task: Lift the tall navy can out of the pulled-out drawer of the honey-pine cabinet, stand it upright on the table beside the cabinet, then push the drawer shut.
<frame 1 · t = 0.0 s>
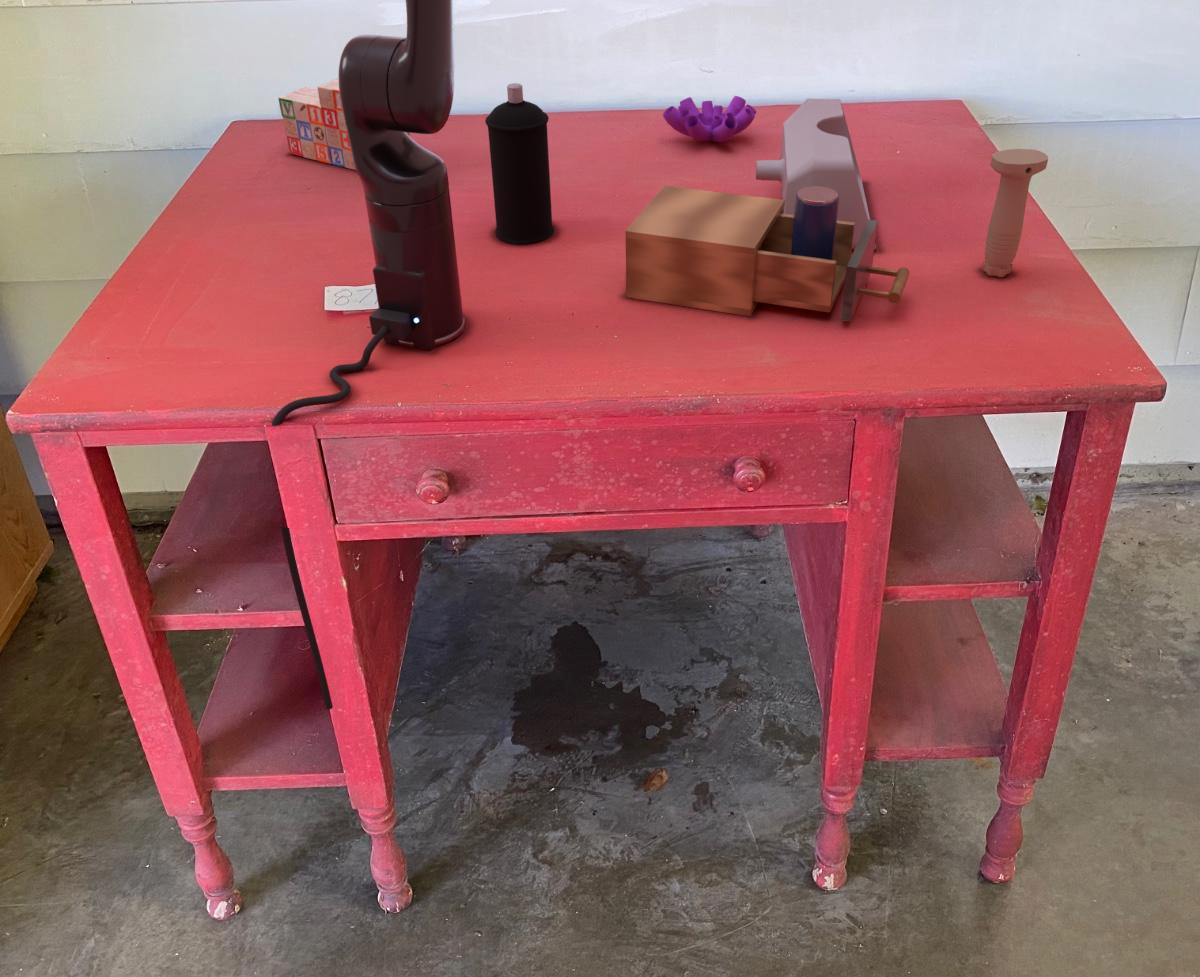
cabinet: (704, 280, 141), on the table
handle: (995, 274, 141), on the table
stack of blocks: (351, 161, 179), on the table
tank: (810, 215, 157), on the table
pipe connector assembly: (708, 142, 182), on the table
can: (809, 280, 136), point 2 cm above the table, touching drawer
drawer: (824, 264, 134), point 4 cm above the table, slide at 10.5 cm, touching can
aerosol can: (524, 233, 155), on the table
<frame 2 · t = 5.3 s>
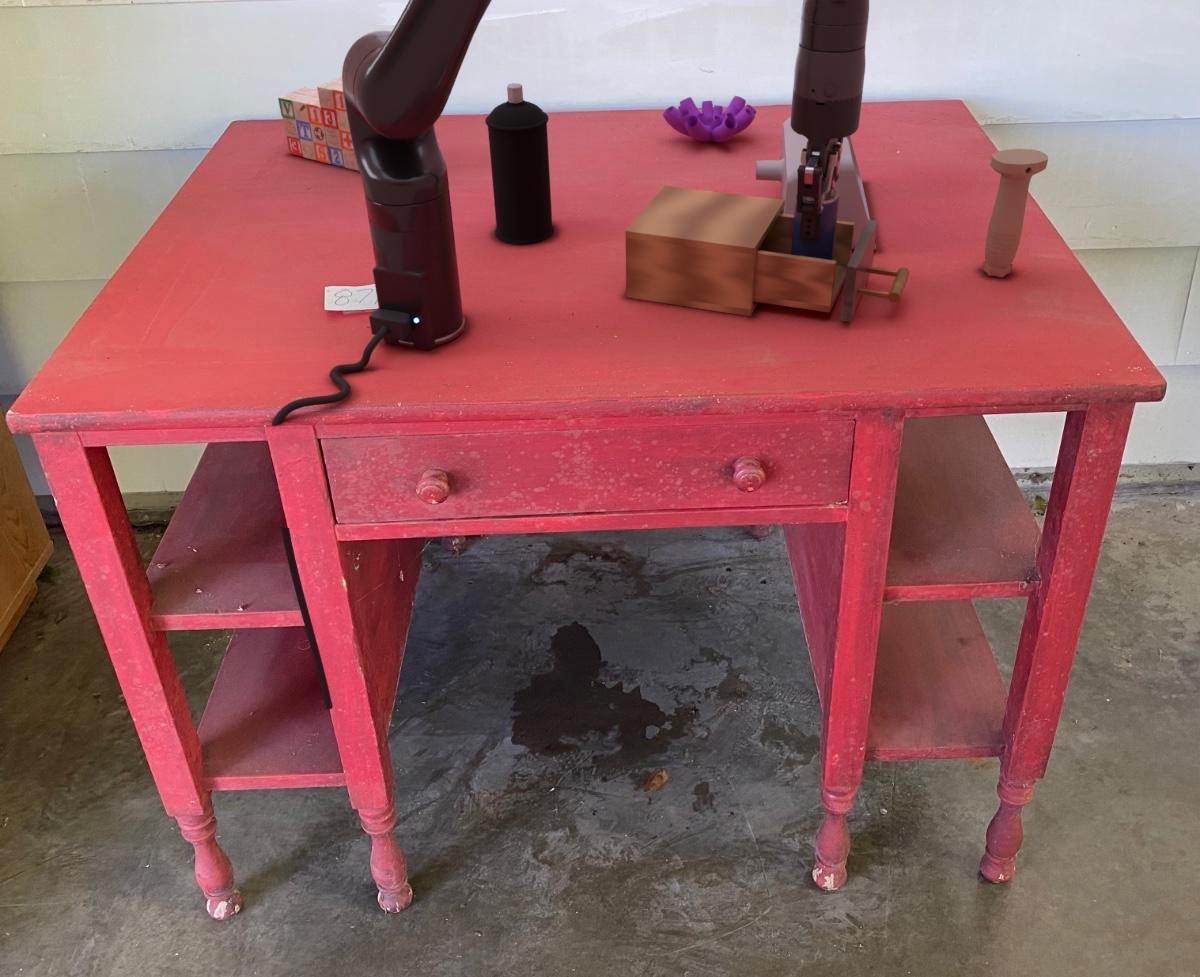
hand: (814, 231, 132), 8 cm above the table, tool pointing down, fingers closed on can, 5 cm apart
can: (809, 280, 136), point 2 cm above the table, touching drawer, gripper
everything else where it was.
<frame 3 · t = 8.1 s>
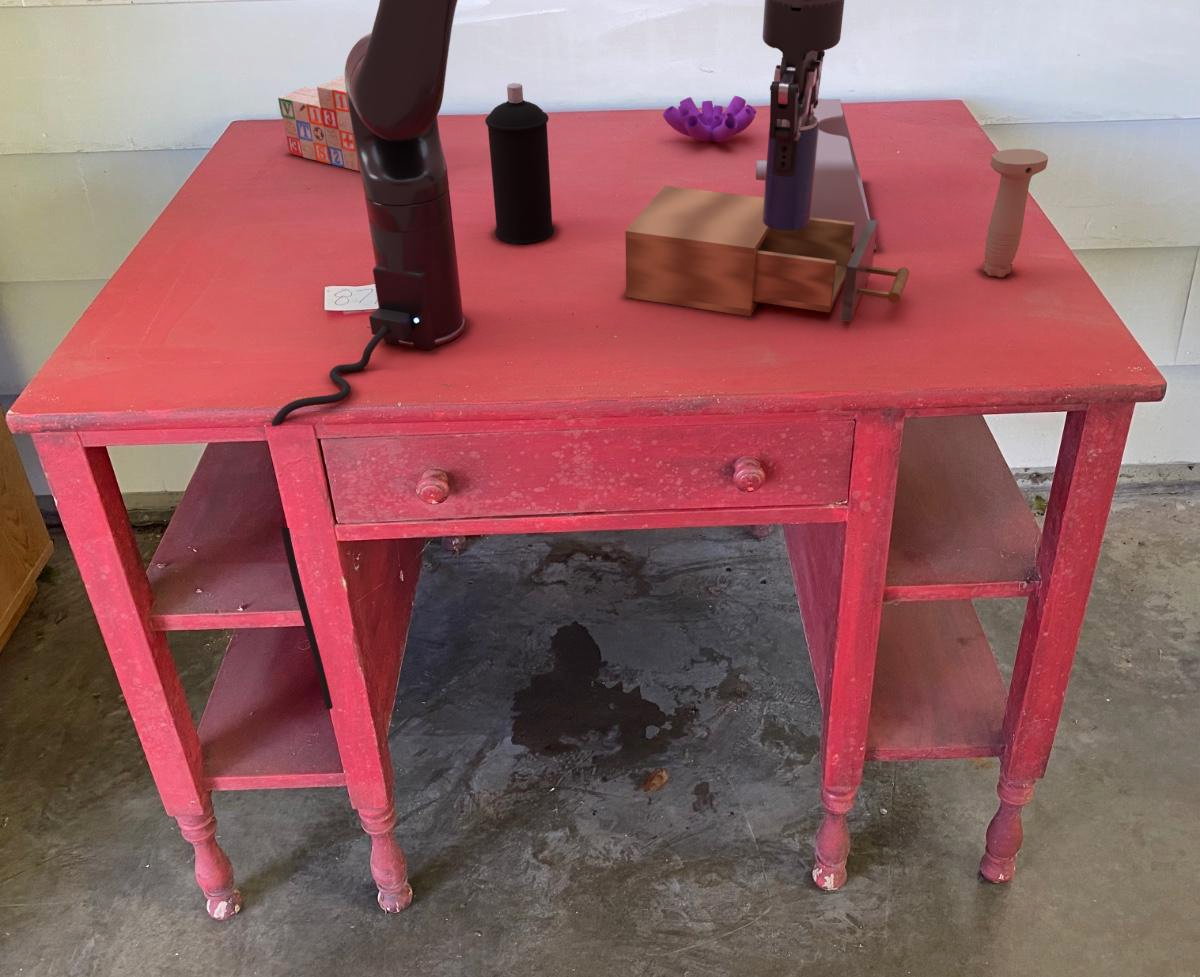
hand: (790, 164, 116), 21 cm above the table, tool pointing down, fingers closed on can, 5 cm apart
can: (785, 221, 120), point 14 cm above the table, touching gripper
drawer: (824, 264, 134), point 4 cm above the table, slide at 10.5 cm
everything else where it was.
when the fingers open (6 cm above the table, at t = 10.7 s): can stays where it is, on the table.
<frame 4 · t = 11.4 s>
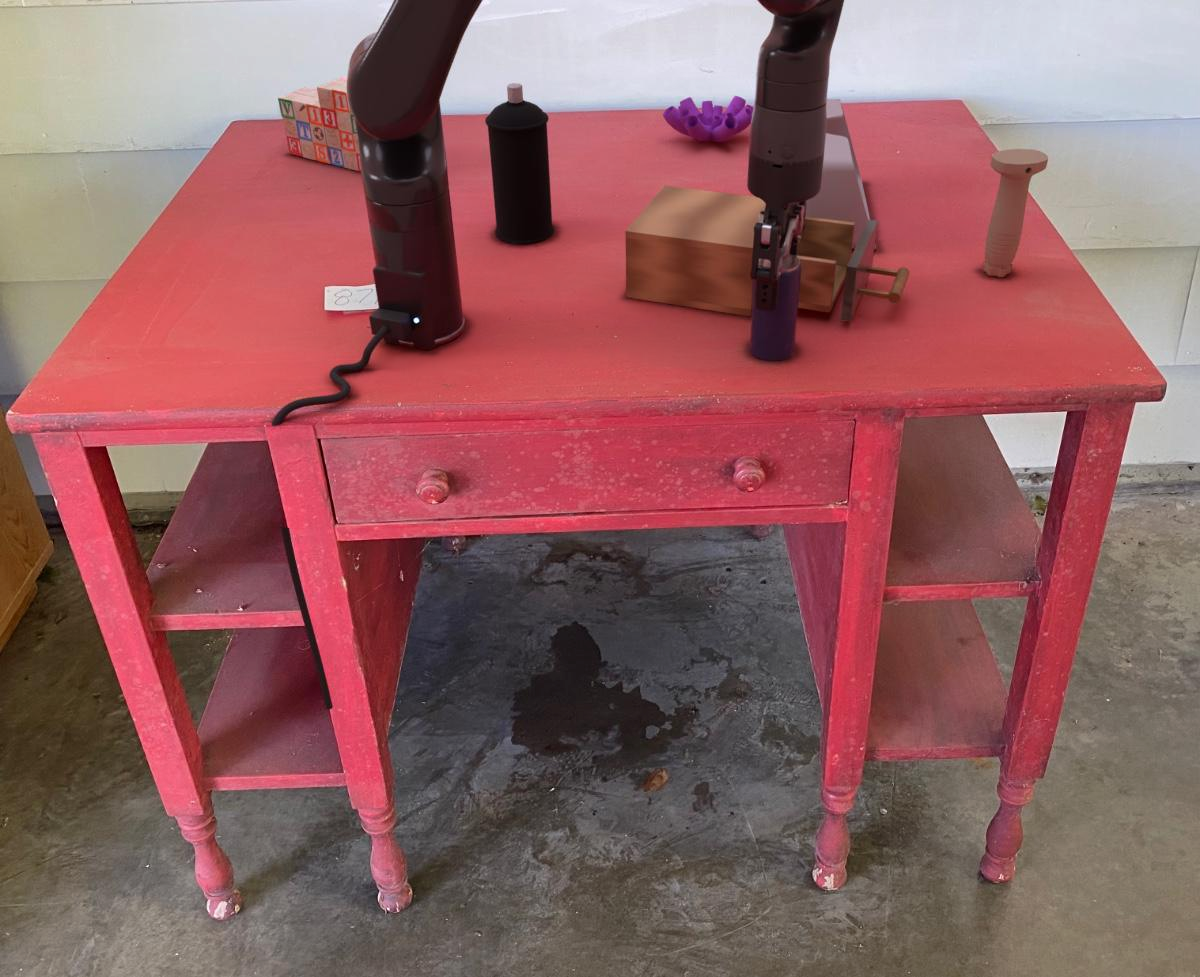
hand: (775, 291, 122), 7 cm above the table, tool pointing down, fingers open, 8 cm apart
can: (771, 350, 127), on the table
everything else where it was.
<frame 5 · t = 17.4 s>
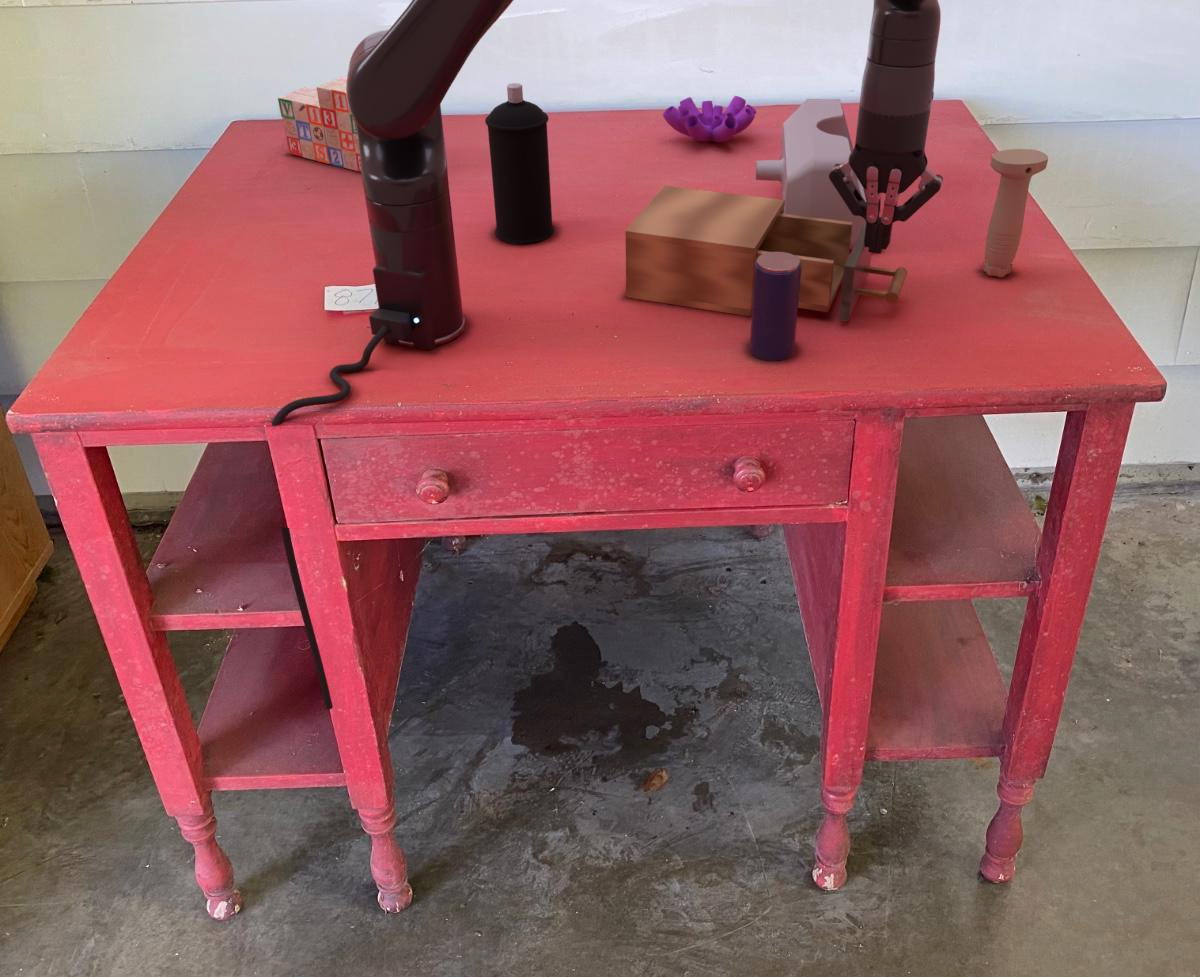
hand: (876, 250, 131), 7 cm above the table, tool pointing down, fingers closed
drawer: (821, 264, 134), point 4 cm above the table, slide at 10.2 cm, touching gripper
everything else where it was.
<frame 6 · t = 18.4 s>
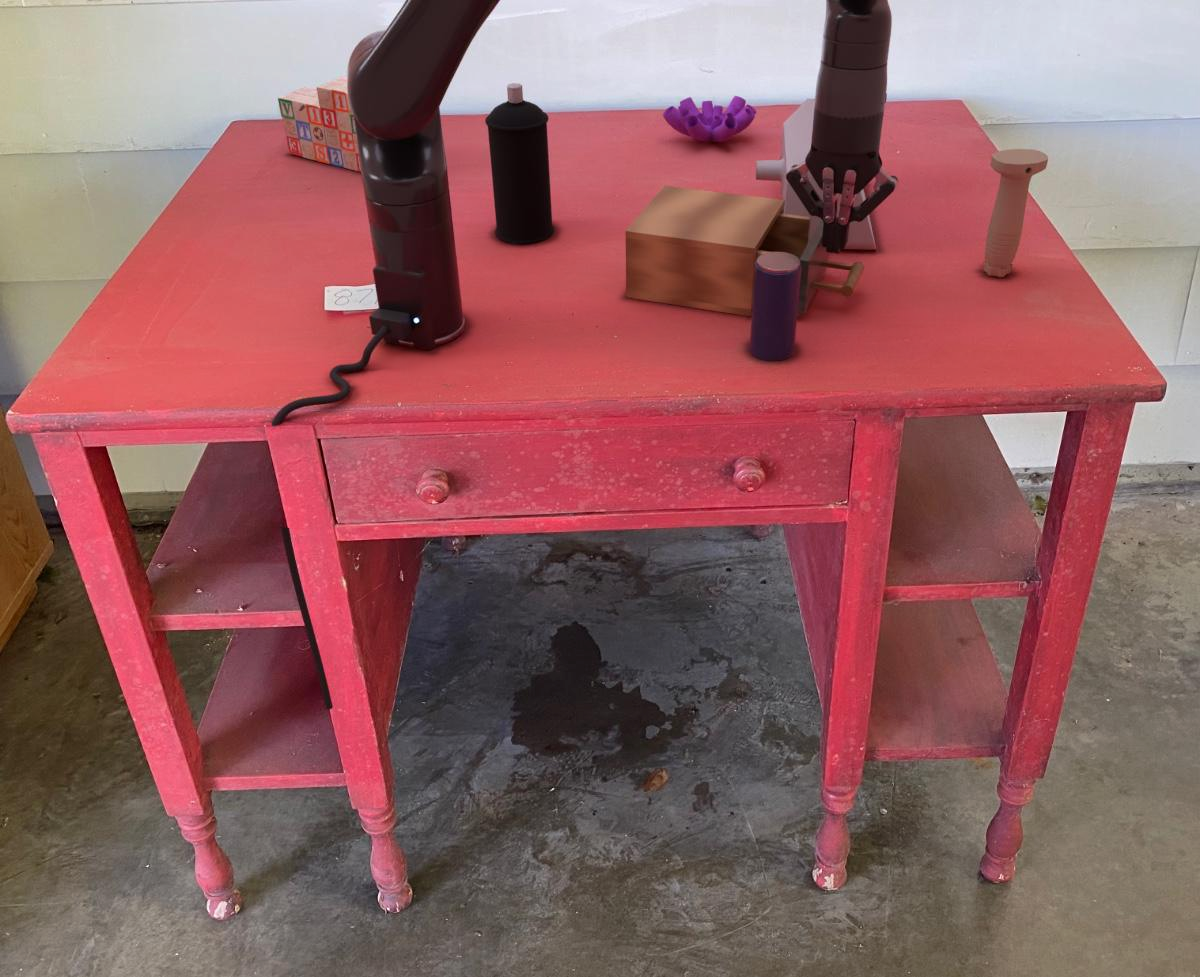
hand: (834, 250, 133), 6 cm above the table, tool pointing down, fingers closed
drawer: (779, 258, 136), point 4 cm above the table, slide at 5.1 cm, touching gripper
everything else where it was.
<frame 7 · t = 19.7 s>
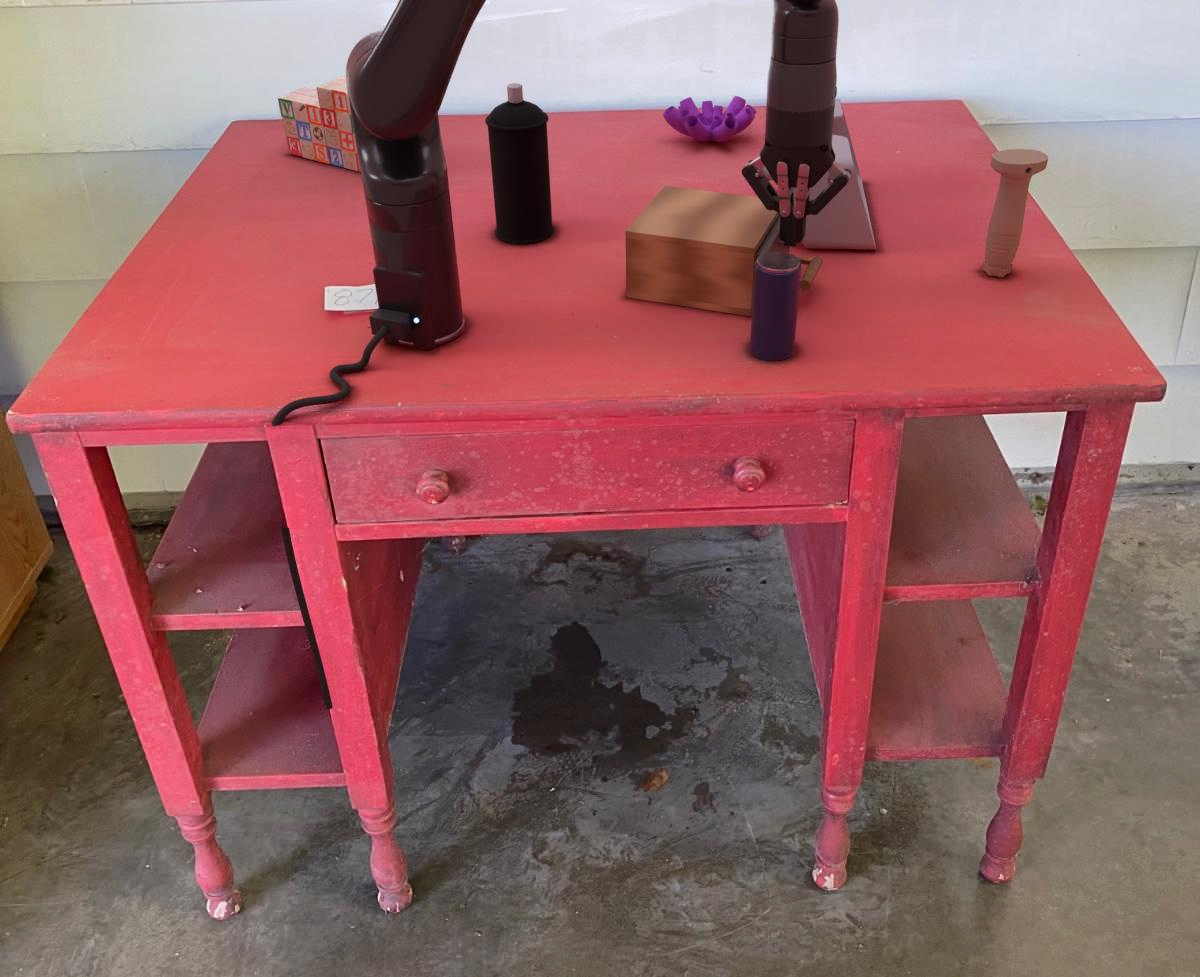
hand: (791, 243, 134), 7 cm above the table, tool pointing down, fingers closed
drawer: (739, 253, 137), point 4 cm above the table, slide at 0.0 cm, touching cabinet, gripper
everything else where it was.
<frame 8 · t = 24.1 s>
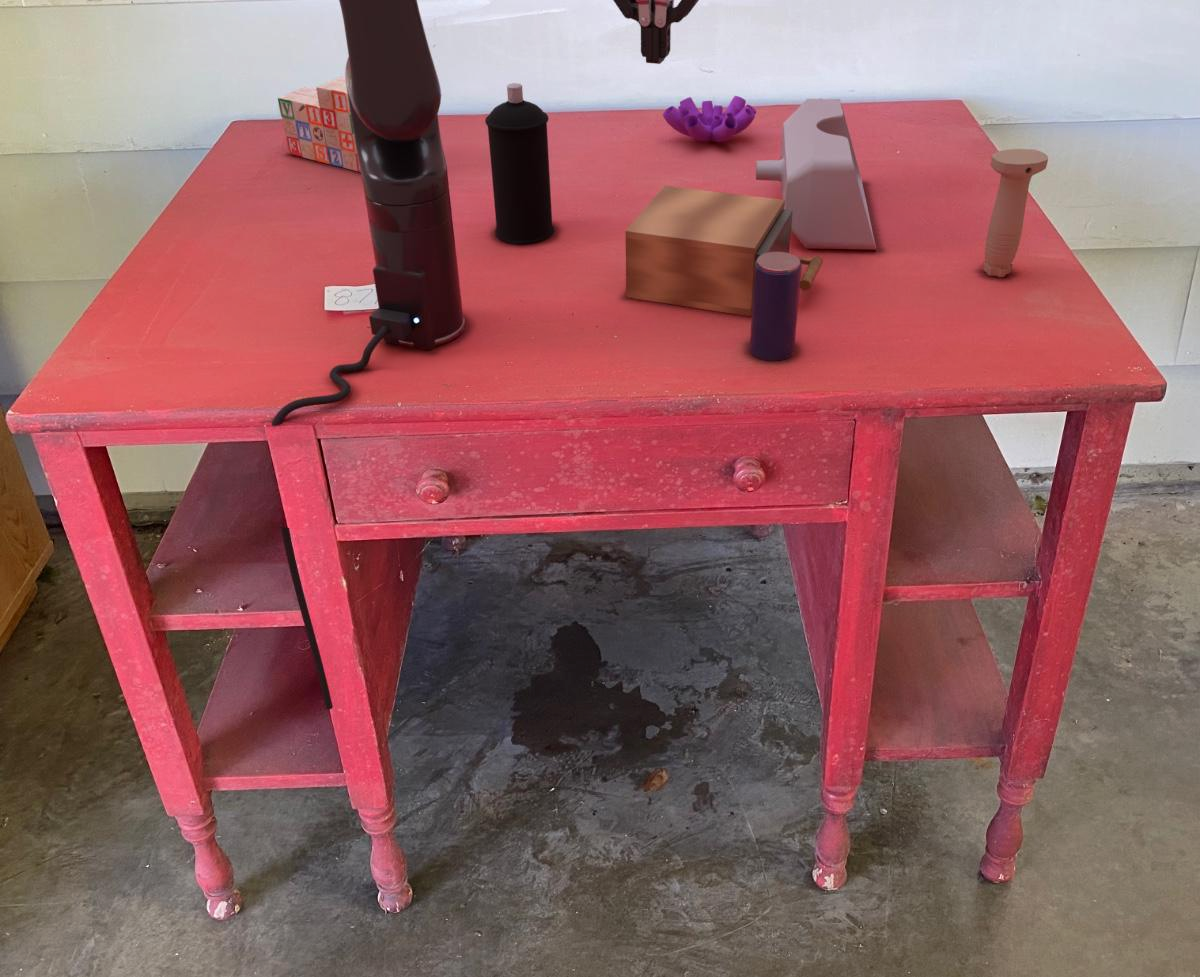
hand: (655, 61, 119), 29 cm above the table, tool pointing down, fingers closed
drawer: (739, 253, 137), point 4 cm above the table, slide at 0.0 cm
everything else where it was.
at the end: can inside the target area (0.1 cm from its centre), on the table; can tilted 0°; drawer slide at 0.0 cm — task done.
